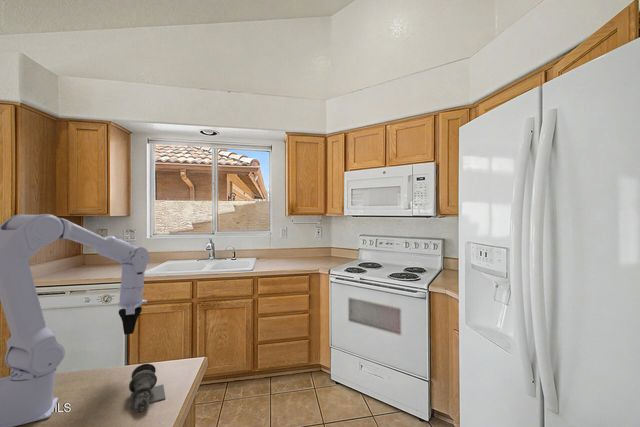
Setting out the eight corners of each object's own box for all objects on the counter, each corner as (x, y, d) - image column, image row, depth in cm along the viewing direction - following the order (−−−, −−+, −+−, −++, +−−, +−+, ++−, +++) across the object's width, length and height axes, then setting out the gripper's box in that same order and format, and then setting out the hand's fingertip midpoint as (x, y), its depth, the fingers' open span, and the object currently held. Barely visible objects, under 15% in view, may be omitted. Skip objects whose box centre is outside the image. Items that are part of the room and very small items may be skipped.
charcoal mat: (130, 408, 63) (130, 407, 63) (131, 393, 69) (131, 392, 69) (165, 399, 67) (165, 397, 67) (163, 385, 73) (163, 384, 73)
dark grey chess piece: (162, 367, 73) (163, 403, 63) (145, 386, 72) (143, 426, 62) (142, 359, 70) (140, 395, 60) (124, 378, 69) (118, 419, 59)
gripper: (148, 289, 78) (145, 338, 77) (147, 282, 90) (144, 324, 89) (118, 292, 74) (114, 343, 73) (120, 283, 87) (117, 328, 85)
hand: (128, 333), depth 81 cm, fingers closed
